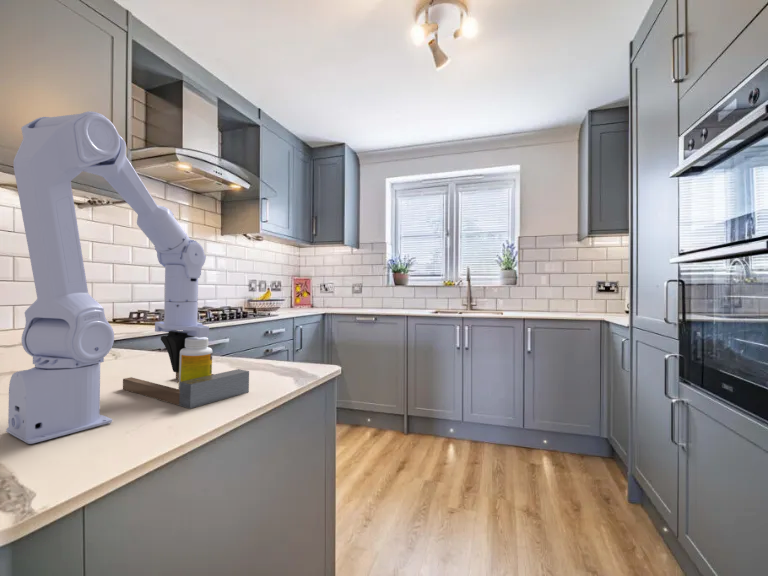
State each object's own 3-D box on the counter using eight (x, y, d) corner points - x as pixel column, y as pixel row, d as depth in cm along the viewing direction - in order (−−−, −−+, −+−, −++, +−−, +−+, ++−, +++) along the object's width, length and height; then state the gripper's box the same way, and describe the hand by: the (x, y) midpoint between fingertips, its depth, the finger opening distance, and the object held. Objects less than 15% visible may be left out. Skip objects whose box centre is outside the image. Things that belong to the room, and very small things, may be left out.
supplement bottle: (214, 393, 72) (216, 339, 72) (182, 398, 69) (184, 341, 68) (206, 386, 76) (208, 335, 76) (175, 390, 73) (177, 336, 73)
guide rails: (179, 405, 65) (179, 393, 65) (122, 389, 74) (122, 378, 74) (238, 389, 75) (238, 379, 75) (182, 376, 84) (182, 367, 84)
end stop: (190, 408, 63) (190, 384, 63) (179, 405, 65) (179, 381, 65) (248, 391, 74) (249, 371, 74) (238, 389, 75) (238, 369, 75)
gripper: (223, 302, 74) (222, 372, 74) (179, 299, 82) (178, 363, 82) (189, 303, 68) (188, 379, 68) (144, 300, 76) (143, 369, 76)
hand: (180, 371), depth 75 cm, fingers closed
